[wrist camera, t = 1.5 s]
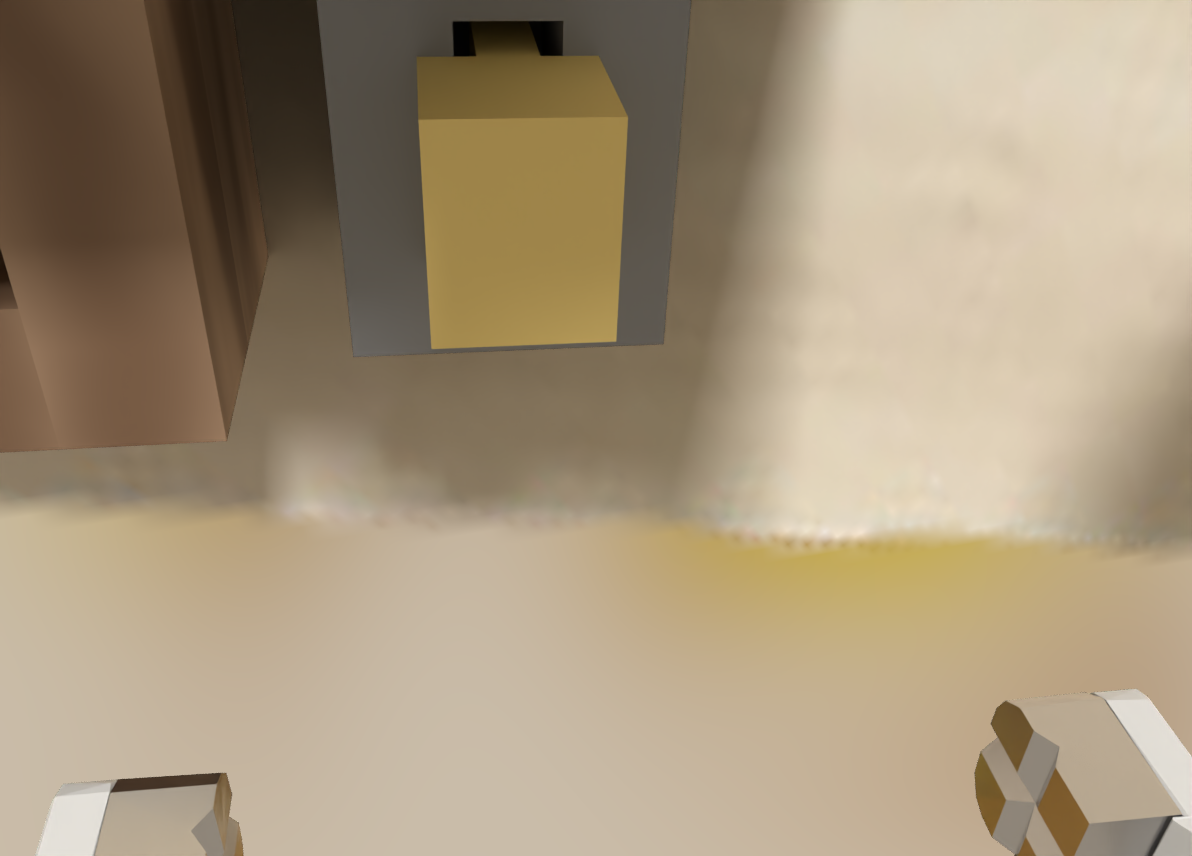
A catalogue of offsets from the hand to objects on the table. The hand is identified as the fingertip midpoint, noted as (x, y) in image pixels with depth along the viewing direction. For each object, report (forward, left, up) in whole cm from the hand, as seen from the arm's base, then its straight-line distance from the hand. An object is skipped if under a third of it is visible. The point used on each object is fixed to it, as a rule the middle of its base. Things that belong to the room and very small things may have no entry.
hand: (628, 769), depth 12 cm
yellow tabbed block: (0, 0, -21) cm, 21 cm away
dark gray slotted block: (0, 0, -25) cm, 25 cm away
